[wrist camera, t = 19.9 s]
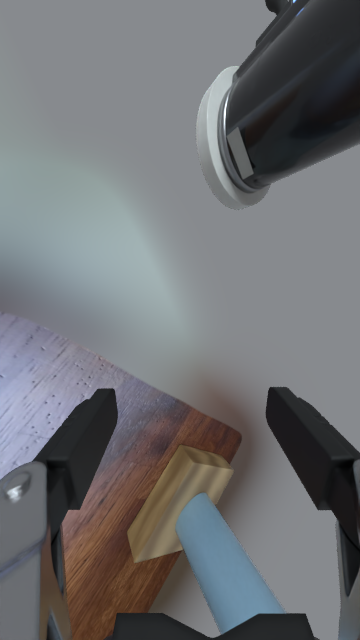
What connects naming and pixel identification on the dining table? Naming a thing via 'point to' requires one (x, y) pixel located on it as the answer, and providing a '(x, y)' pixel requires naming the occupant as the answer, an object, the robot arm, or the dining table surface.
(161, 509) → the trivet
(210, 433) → the dining table surface
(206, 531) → the light blue cylinder
